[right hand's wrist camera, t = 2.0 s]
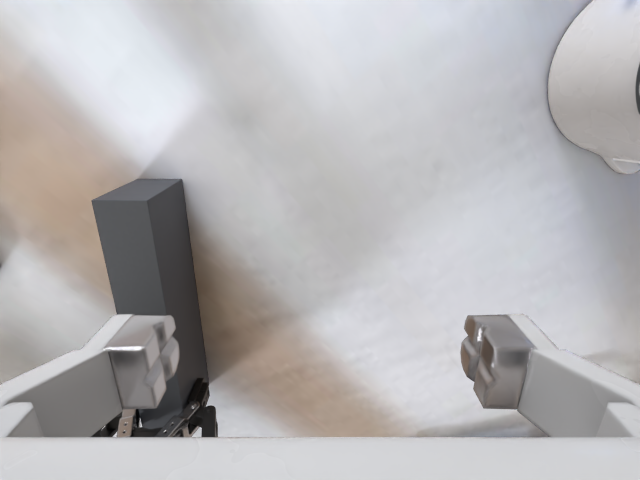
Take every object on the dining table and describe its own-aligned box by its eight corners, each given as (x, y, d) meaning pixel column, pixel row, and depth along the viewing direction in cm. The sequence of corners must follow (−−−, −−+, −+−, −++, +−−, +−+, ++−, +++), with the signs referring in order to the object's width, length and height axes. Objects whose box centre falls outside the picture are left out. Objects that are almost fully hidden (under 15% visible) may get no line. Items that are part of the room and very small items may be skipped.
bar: (137, 178, 37) (90, 200, 30) (182, 178, 37) (147, 200, 30) (173, 384, 47) (145, 440, 39) (209, 384, 47) (188, 440, 39)
